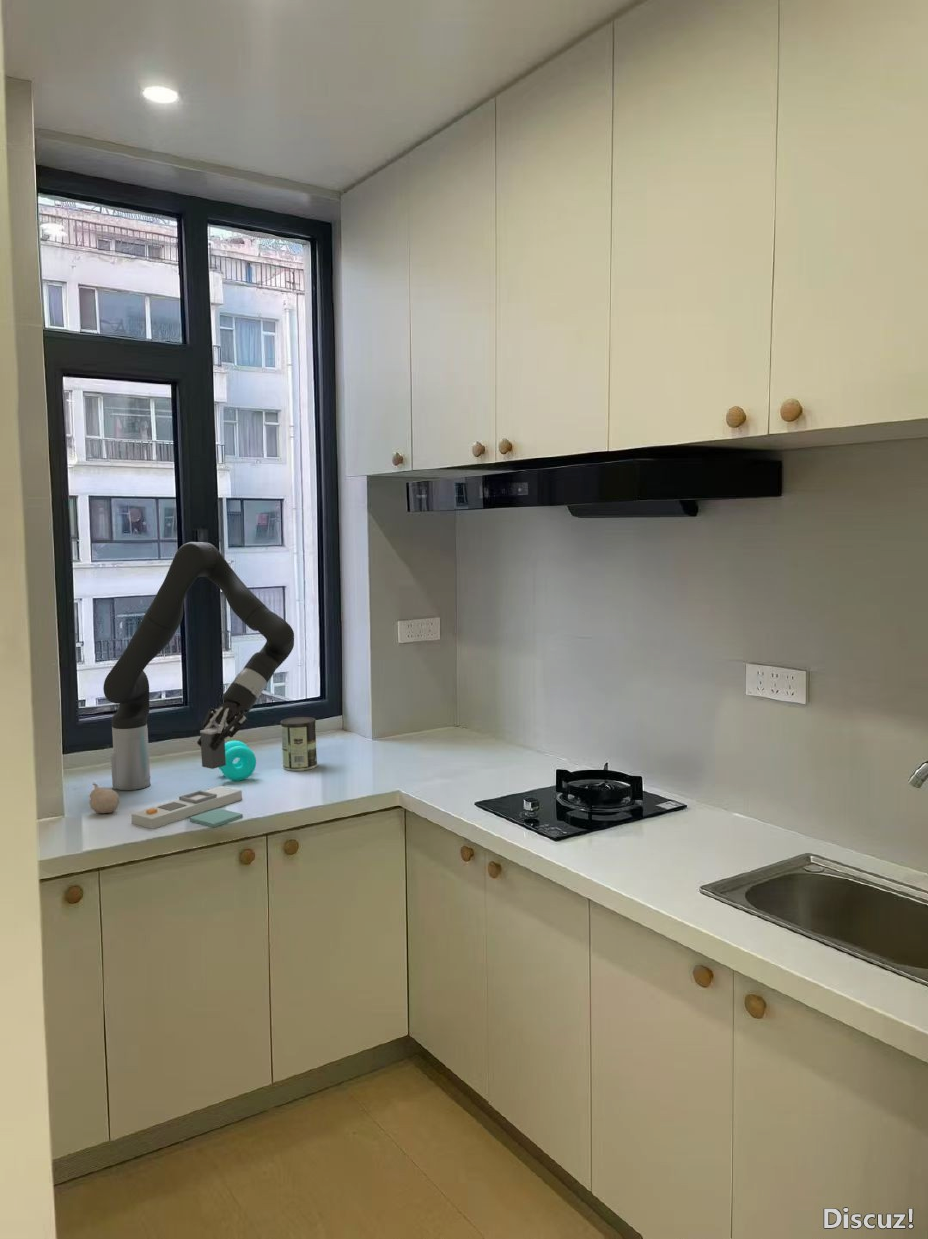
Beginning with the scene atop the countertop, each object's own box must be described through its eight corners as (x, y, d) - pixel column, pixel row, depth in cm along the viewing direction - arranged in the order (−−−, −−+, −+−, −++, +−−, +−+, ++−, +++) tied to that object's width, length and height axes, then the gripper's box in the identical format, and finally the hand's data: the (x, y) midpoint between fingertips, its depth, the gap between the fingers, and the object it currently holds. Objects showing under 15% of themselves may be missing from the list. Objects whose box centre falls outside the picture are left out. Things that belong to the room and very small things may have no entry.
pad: (213, 827, 226) (213, 823, 226) (189, 820, 231) (189, 817, 231) (242, 817, 233) (242, 814, 233) (218, 811, 238) (218, 808, 238)
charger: (212, 768, 228) (210, 732, 227) (201, 766, 230) (199, 730, 229) (226, 765, 231) (224, 729, 230) (215, 762, 234) (213, 727, 233)
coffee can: (308, 760, 288) (306, 715, 286) (323, 767, 279) (321, 720, 278) (276, 765, 282) (274, 719, 280) (290, 773, 273) (289, 725, 272)
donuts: (222, 784, 263) (220, 749, 262) (216, 775, 272) (214, 741, 271) (257, 779, 267) (256, 745, 266) (250, 771, 276) (249, 737, 275)
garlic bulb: (110, 807, 243) (109, 777, 242) (124, 812, 239) (122, 781, 238) (86, 814, 238) (84, 783, 237) (100, 818, 234) (98, 787, 233)
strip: (152, 828, 226) (151, 815, 225) (131, 823, 230) (131, 810, 230) (242, 799, 248) (241, 787, 248) (221, 794, 253) (221, 783, 252)
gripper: (219, 678, 239) (179, 734, 231) (252, 684, 229) (212, 742, 222) (237, 696, 243) (199, 751, 236) (271, 702, 234) (232, 760, 226)
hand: (206, 746), depth 229 cm, fingers closed on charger, 4 cm apart
